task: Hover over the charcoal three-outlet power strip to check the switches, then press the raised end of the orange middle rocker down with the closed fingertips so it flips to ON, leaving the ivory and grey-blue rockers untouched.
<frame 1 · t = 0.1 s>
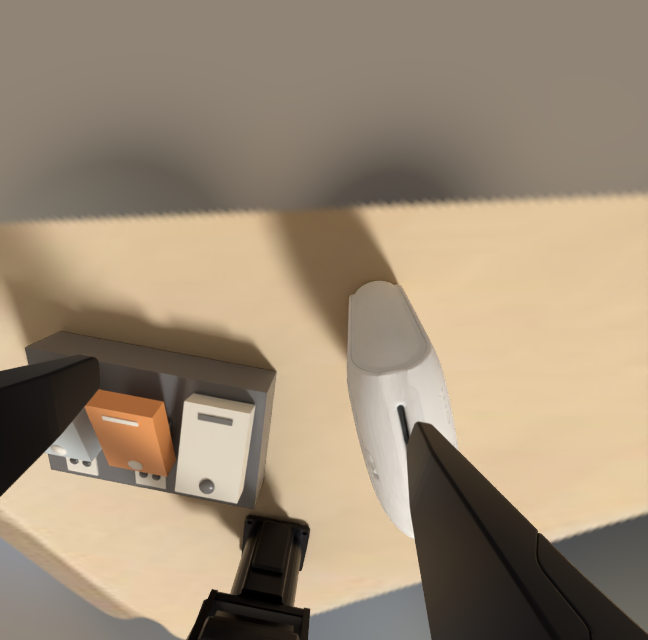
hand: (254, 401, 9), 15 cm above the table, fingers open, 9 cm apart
orange rocker: (134, 436, 23), point 5 cm above the table, hinge at -12.0°
ivory rocker: (214, 448, 23), point 5 cm above the table, hinge at 12.0°
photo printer: (386, 343, 24), on the table
grey-blue rocker: (54, 420, 23), point 5 cm above the table, hinge at -12.0°
power strip: (169, 411, 28), on the table
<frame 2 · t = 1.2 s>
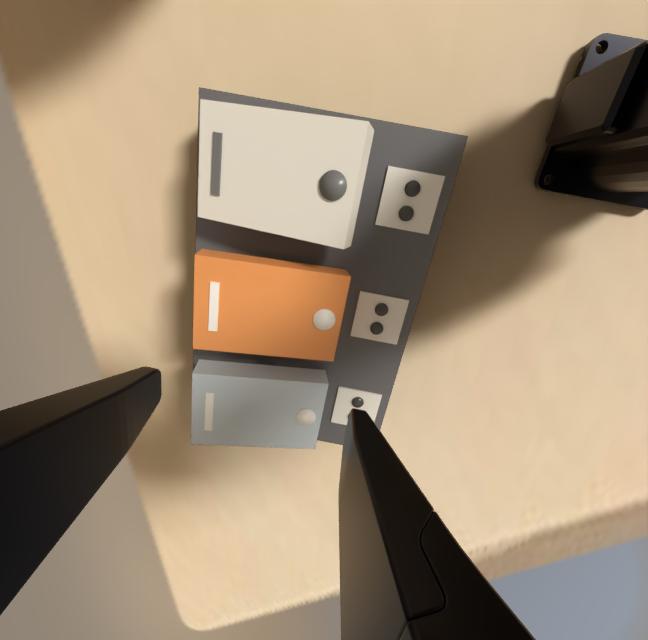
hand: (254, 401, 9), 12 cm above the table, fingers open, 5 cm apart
orange rocker: (271, 308, 16), point 5 cm above the table, hinge at -12.0°
ivory rocker: (279, 176, 14), point 5 cm above the table, hinge at 12.0°
grey-blue rocker: (259, 406, 18), point 5 cm above the table, hinge at -12.0°
power strip: (309, 288, 20), on the table
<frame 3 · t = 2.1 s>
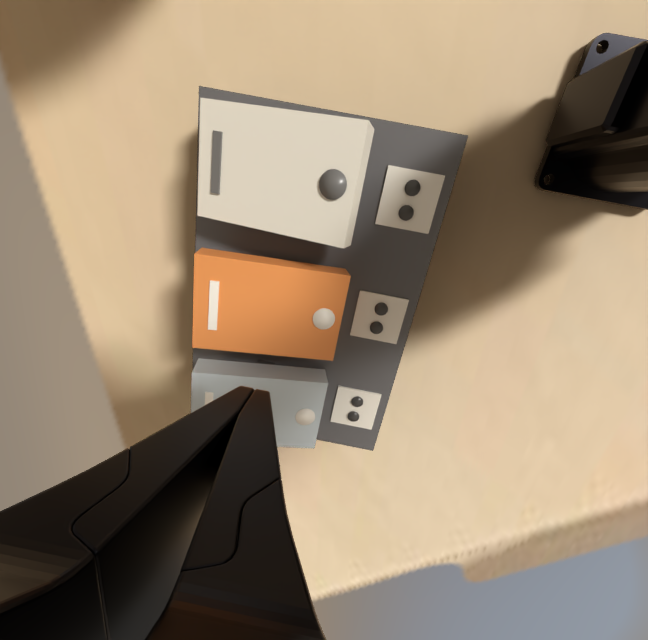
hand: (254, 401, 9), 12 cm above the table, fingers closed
orange rocker: (270, 307, 16), point 5 cm above the table, hinge at -12.0°
ivory rocker: (279, 175, 13), point 5 cm above the table, hinge at 12.0°
grey-blue rocker: (259, 405, 18), point 5 cm above the table, hinge at -12.0°
power strip: (309, 287, 20), on the table
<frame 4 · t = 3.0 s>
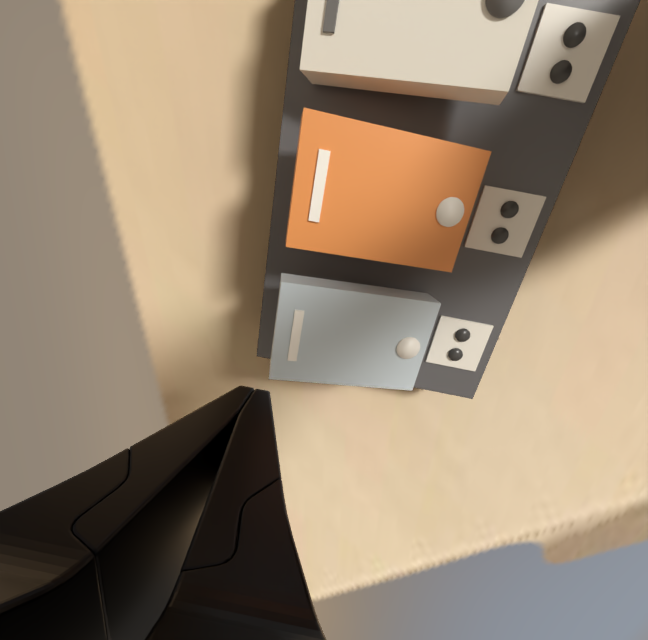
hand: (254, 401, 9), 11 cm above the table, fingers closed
orange rocker: (381, 199, 13), point 5 cm above the table, hinge at -12.0°
ivory rocker: (416, 2, 10), point 5 cm above the table, hinge at 12.0°
grey-blue rocker: (350, 335, 15), point 5 cm above the table, hinge at -12.0°
power strip: (399, 203, 17), on the table
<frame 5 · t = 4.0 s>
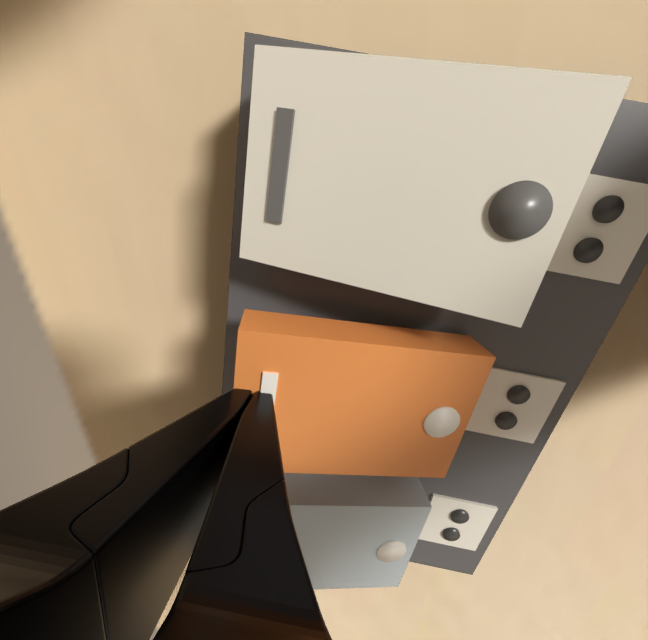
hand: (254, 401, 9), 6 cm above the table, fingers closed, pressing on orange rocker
orange rocker: (353, 401, 10), point 5 cm above the table, hinge at -11.9°, touching gripper
ivory rocker: (392, 189, 7), point 5 cm above the table, hinge at 12.0°
grey-blue rocker: (320, 532, 12), point 5 cm above the table, hinge at -12.0°
power strip: (384, 344, 14), on the table
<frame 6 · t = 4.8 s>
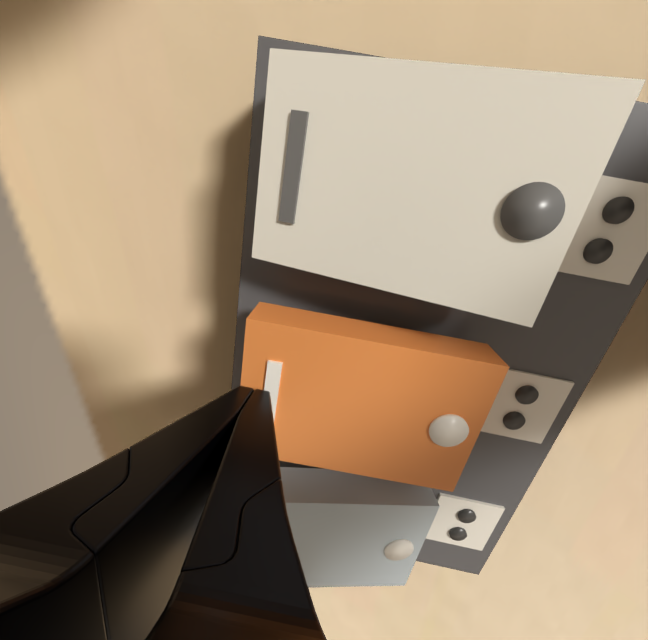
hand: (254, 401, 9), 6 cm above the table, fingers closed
orange rocker: (358, 399, 10), point 5 cm above the table, hinge at -2.3°
ivory rocker: (404, 191, 8), point 5 cm above the table, hinge at 12.0°
grey-blue rocker: (328, 530, 12), point 5 cm above the table, hinge at -12.0°
power strip: (391, 344, 14), on the table
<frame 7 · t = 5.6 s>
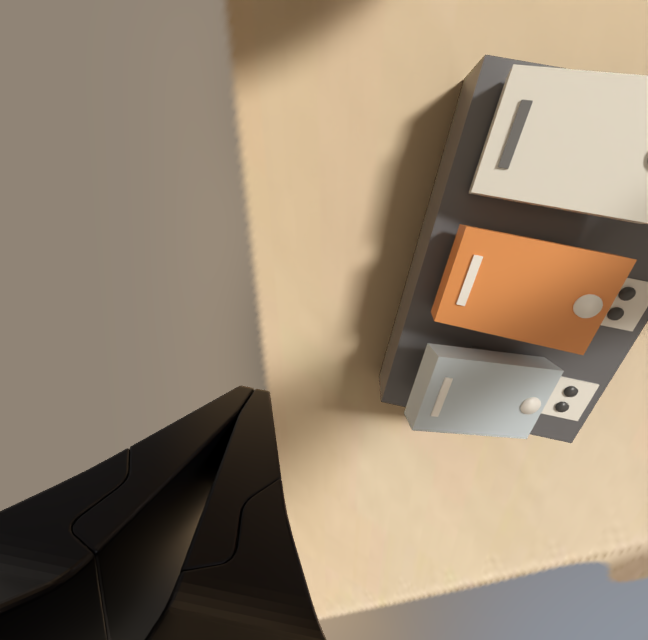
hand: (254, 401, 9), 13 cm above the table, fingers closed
orange rocker: (521, 289, 15), point 5 cm above the table, hinge at 4.1°
ivory rocker: (580, 148, 13), point 5 cm above the table, hinge at 12.0°
grey-blue rocker: (479, 393, 17), point 5 cm above the table, hinge at -12.0°
power strip: (511, 273, 19), on the table
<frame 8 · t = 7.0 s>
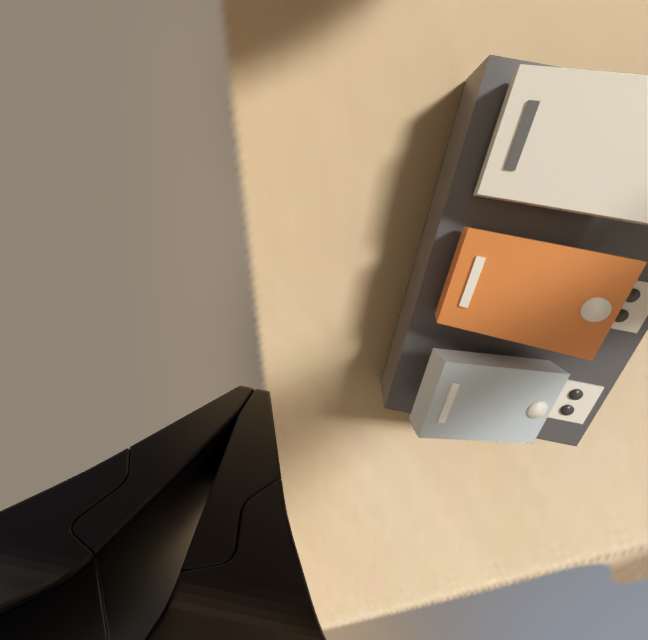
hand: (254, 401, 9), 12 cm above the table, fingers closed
orange rocker: (526, 292, 15), point 5 cm above the table, hinge at 9.1°
ivory rocker: (586, 149, 13), point 5 cm above the table, hinge at 12.0°
grey-blue rocker: (486, 398, 17), point 5 cm above the table, hinge at -12.0°
power strip: (514, 275, 19), on the table
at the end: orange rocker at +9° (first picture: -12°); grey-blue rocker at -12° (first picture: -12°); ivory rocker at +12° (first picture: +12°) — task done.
